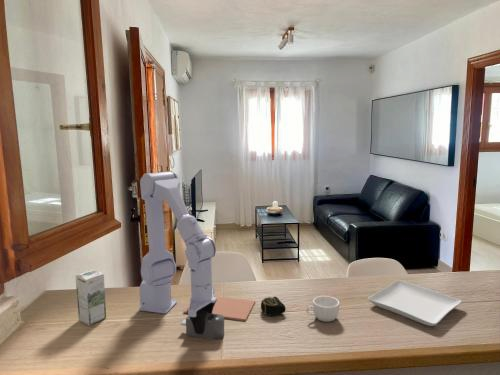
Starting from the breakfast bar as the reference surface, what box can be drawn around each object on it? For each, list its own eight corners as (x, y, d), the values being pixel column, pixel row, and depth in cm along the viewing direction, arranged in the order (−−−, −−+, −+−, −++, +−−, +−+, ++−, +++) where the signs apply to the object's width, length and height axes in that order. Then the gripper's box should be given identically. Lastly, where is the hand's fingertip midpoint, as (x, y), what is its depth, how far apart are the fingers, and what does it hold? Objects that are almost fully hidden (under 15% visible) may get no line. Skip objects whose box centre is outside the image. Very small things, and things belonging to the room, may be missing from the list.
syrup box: (96, 312, 112) (92, 268, 109) (107, 318, 108) (103, 272, 106) (78, 320, 107) (74, 274, 105) (89, 326, 104) (85, 279, 102)
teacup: (332, 310, 112) (332, 294, 111) (343, 323, 105) (344, 306, 104) (302, 314, 110) (302, 297, 109) (311, 327, 103) (311, 309, 102)
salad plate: (434, 334, 99) (435, 323, 99) (365, 307, 115) (366, 297, 115) (462, 309, 113) (463, 299, 113) (397, 288, 129) (398, 279, 128)
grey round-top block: (179, 334, 99) (179, 317, 99) (186, 326, 104) (185, 310, 103) (221, 340, 96) (221, 323, 96) (226, 331, 101) (226, 315, 100)
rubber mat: (183, 313, 111) (183, 311, 111) (198, 296, 123) (198, 294, 123) (245, 321, 106) (245, 319, 106) (255, 302, 118) (255, 300, 118)
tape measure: (286, 315, 110) (286, 304, 109) (265, 319, 107) (265, 307, 107) (277, 305, 116) (277, 294, 115) (257, 308, 114) (257, 297, 113)
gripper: (205, 295, 90) (206, 345, 92) (223, 273, 104) (224, 317, 106) (179, 292, 92) (181, 341, 94) (201, 271, 105) (202, 314, 108)
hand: (202, 328), depth 100 cm, fingers closed on grey round-top block, 4 cm apart
